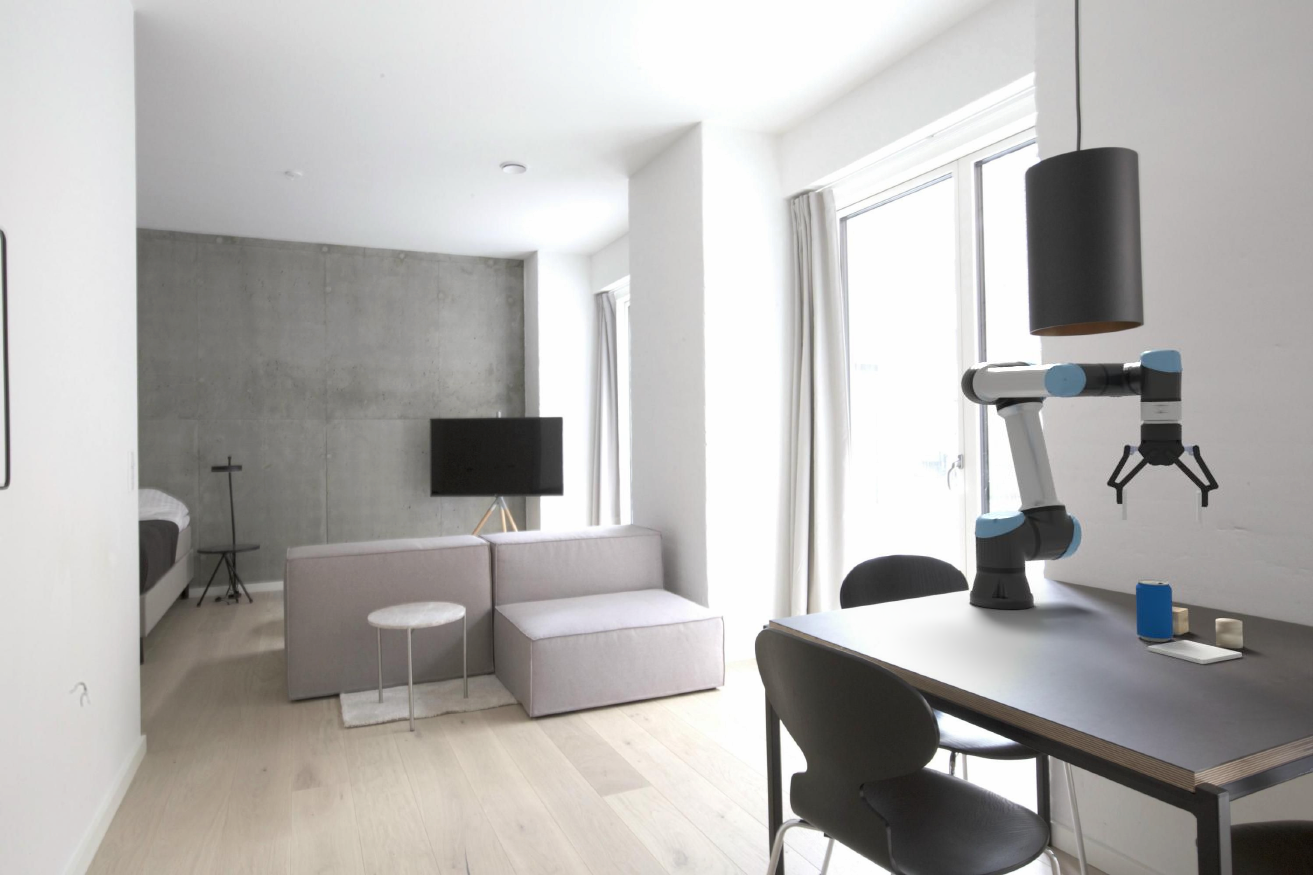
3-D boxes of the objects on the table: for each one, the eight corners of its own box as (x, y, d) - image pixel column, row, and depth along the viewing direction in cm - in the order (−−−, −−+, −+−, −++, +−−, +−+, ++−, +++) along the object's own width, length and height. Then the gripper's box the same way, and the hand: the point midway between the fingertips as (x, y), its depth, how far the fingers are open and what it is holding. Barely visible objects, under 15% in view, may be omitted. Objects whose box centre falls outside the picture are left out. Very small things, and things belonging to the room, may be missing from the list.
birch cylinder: (1211, 644, 163) (1210, 619, 163) (1225, 641, 165) (1224, 617, 165) (1233, 649, 159) (1232, 624, 159) (1248, 646, 161) (1247, 621, 161)
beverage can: (1178, 643, 165) (1177, 584, 165) (1144, 642, 166) (1142, 584, 166) (1165, 635, 171) (1164, 579, 171) (1132, 634, 172) (1130, 578, 172)
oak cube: (1153, 631, 175) (1152, 608, 175) (1163, 627, 178) (1162, 605, 178) (1179, 635, 171) (1178, 612, 171) (1188, 631, 174) (1188, 608, 174)
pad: (1147, 650, 160) (1147, 646, 160) (1185, 643, 164) (1185, 639, 164) (1202, 664, 150) (1202, 659, 150) (1241, 656, 154) (1241, 652, 154)
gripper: (1093, 423, 176) (1094, 519, 176) (1233, 421, 163) (1233, 526, 163) (1095, 422, 182) (1096, 516, 183) (1230, 421, 169) (1230, 521, 170)
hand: (1161, 521), depth 173 cm, fingers open, 13 cm apart
